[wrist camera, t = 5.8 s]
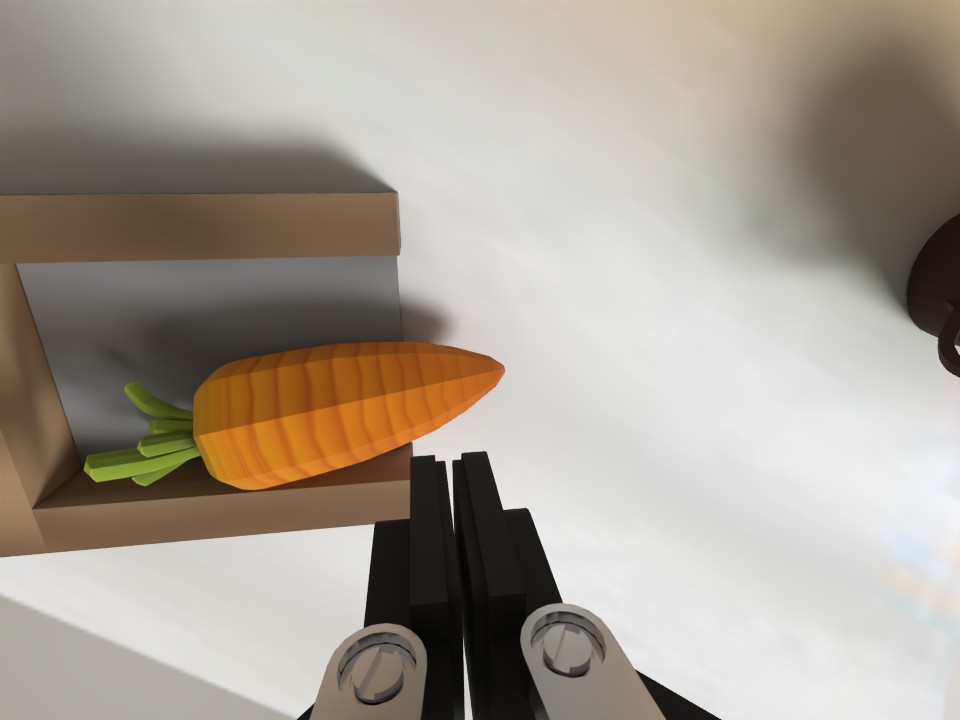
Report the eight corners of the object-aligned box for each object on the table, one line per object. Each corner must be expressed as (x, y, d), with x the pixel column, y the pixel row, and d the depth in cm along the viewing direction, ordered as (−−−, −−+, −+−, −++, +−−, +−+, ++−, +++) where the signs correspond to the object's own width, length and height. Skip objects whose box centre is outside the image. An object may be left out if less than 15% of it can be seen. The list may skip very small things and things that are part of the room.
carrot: (494, 370, 23) (165, 442, 21) (485, 282, 19) (92, 362, 18) (523, 455, 19) (129, 548, 18) (518, 366, 16) (30, 472, 14)
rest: (-72, 194, 17) (-169, 197, 14) (397, 192, 19) (395, 193, 16) (46, 508, 21) (-10, 558, 18) (414, 479, 23) (415, 520, 20)
